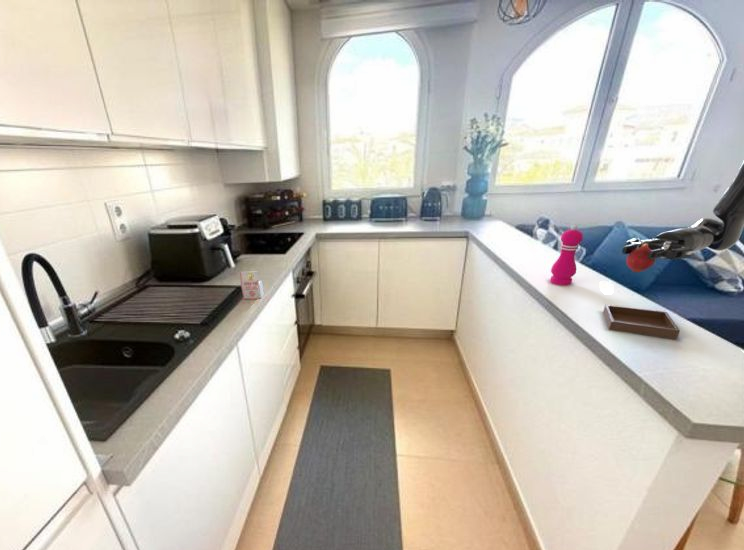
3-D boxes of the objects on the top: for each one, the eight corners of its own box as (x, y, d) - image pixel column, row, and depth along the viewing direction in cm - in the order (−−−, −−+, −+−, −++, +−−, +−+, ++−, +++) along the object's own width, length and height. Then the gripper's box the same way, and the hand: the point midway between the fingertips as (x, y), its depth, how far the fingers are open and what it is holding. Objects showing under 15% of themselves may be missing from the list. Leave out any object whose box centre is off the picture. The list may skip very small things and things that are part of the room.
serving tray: (663, 320, 93) (667, 311, 91) (676, 339, 84) (680, 330, 83) (602, 312, 99) (605, 304, 98) (608, 329, 90) (611, 321, 89)
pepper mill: (552, 277, 125) (565, 221, 116) (575, 281, 120) (591, 224, 111) (545, 283, 121) (558, 225, 112) (569, 287, 116) (585, 228, 107)
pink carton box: (246, 295, 129) (241, 270, 125) (263, 295, 128) (259, 269, 124) (243, 299, 126) (238, 273, 121) (261, 299, 125) (257, 273, 121)
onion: (649, 277, 91) (659, 247, 87) (621, 273, 94) (630, 245, 91) (650, 271, 94) (660, 242, 91) (623, 268, 98) (632, 240, 95)
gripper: (651, 225, 100) (612, 233, 96) (717, 234, 88) (675, 244, 83) (643, 250, 104) (604, 259, 99) (705, 262, 91) (664, 273, 86)
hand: (637, 252), depth 91 cm, fingers closed on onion, 5 cm apart
